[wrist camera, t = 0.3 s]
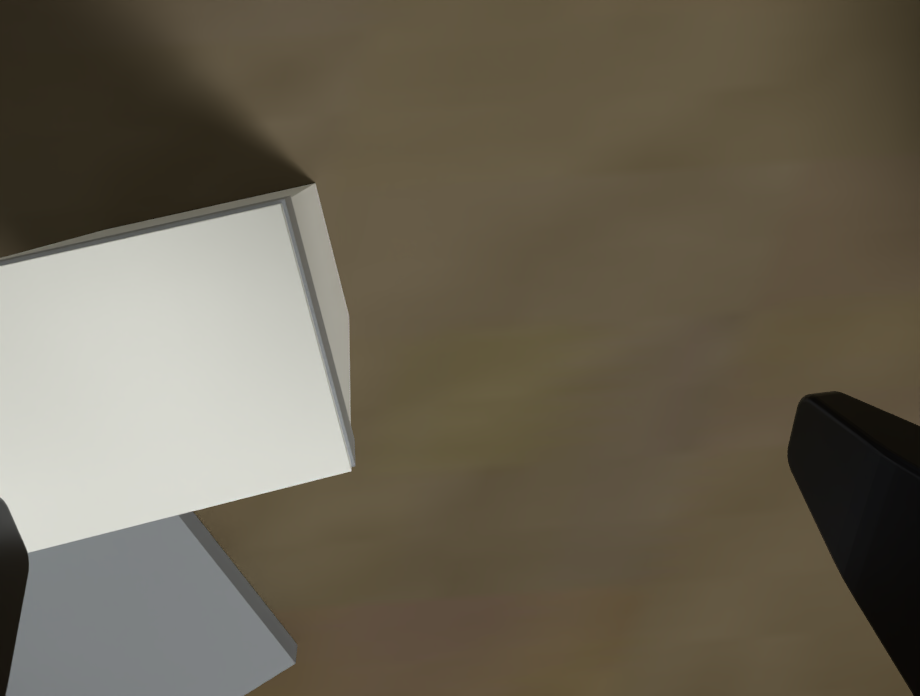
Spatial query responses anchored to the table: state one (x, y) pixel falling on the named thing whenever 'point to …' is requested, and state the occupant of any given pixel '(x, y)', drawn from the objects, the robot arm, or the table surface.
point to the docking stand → (144, 618)
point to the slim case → (172, 367)
